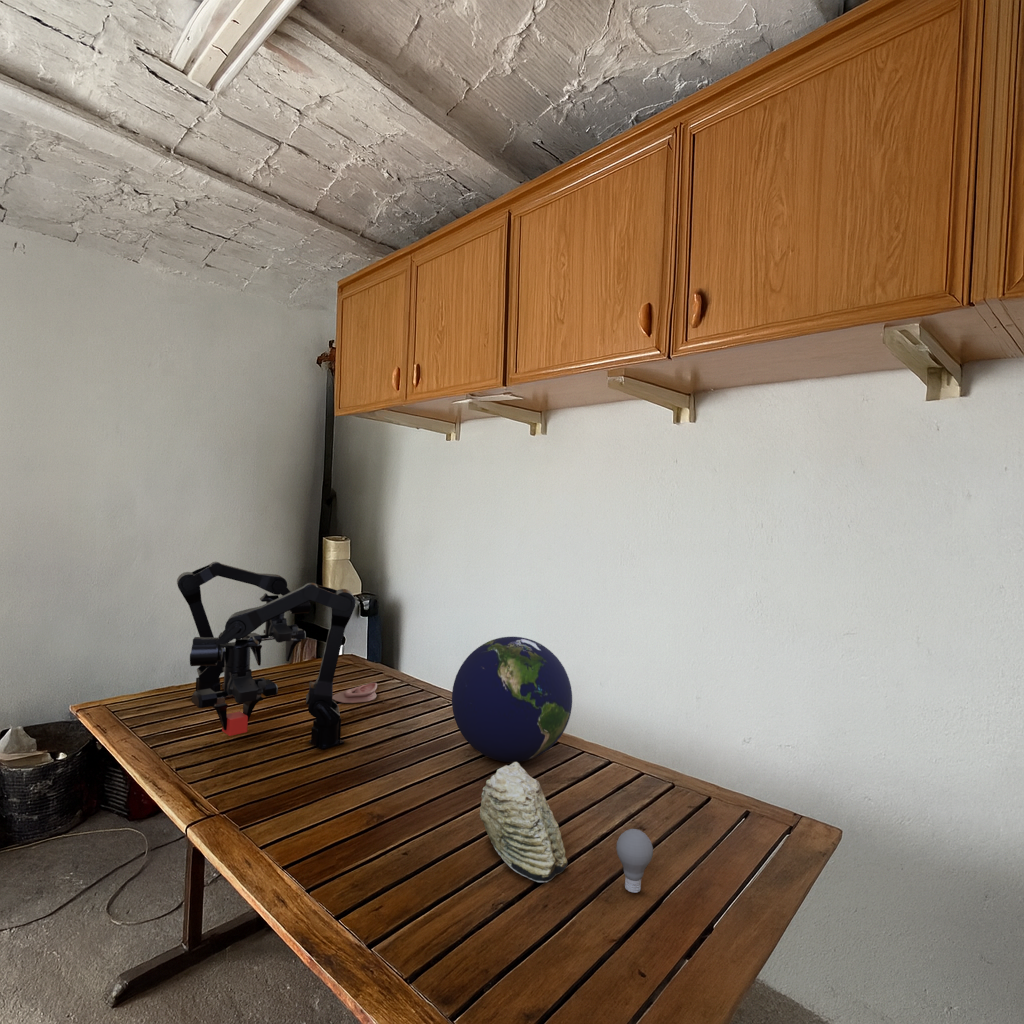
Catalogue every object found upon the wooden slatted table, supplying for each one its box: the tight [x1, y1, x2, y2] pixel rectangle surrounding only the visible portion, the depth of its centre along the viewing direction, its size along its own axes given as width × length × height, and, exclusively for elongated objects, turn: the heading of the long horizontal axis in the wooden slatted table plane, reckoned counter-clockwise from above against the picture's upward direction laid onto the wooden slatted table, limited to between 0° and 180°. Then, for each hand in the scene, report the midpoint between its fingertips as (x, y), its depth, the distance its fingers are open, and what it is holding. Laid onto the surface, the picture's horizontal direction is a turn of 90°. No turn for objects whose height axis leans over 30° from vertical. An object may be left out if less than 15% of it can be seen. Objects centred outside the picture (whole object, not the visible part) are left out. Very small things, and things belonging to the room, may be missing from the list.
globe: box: [451, 636, 573, 763], centre depth 158 cm, size 30×30×30 cm
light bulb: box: [615, 828, 654, 894], centre depth 106 cm, size 6×6×10 cm
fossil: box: [479, 762, 569, 883], centre depth 114 cm, size 9×18×15 cm, turn 46°
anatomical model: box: [332, 682, 378, 704], centre depth 199 cm, size 13×4×12 cm
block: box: [221, 711, 249, 737], centre depth 156 cm, size 4×4×4 cm
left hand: (273, 663), depth 202 cm, fingers open, 9 cm apart
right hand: (234, 727), depth 156 cm, fingers closed on block, 4 cm apart
